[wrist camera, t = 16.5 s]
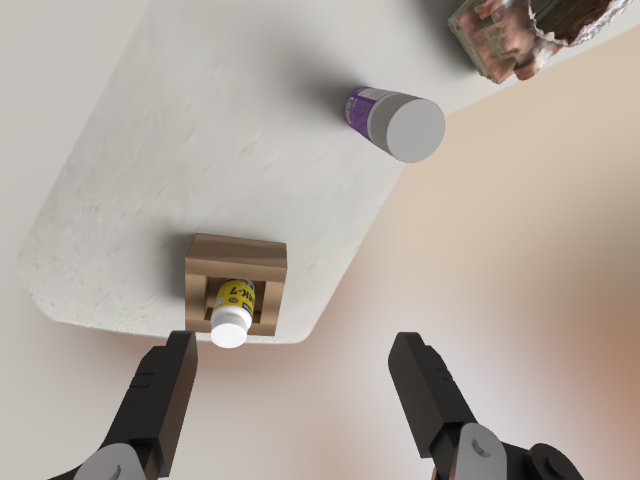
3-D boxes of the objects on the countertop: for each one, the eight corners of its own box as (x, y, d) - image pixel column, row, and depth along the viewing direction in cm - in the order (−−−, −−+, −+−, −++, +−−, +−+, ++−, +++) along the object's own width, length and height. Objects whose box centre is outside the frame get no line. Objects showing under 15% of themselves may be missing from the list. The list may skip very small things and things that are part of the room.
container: (363, 139, 36) (412, 176, 23) (335, 112, 34) (371, 137, 21) (391, 106, 34) (459, 127, 21) (363, 77, 32) (420, 80, 20)
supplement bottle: (262, 285, 40) (258, 332, 33) (243, 307, 42) (235, 356, 35) (231, 269, 39) (220, 315, 31) (212, 292, 40) (198, 341, 33)
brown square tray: (198, 231, 40) (184, 258, 34) (286, 242, 42) (287, 268, 37) (196, 299, 45) (185, 331, 40) (274, 305, 48) (274, 336, 42)
